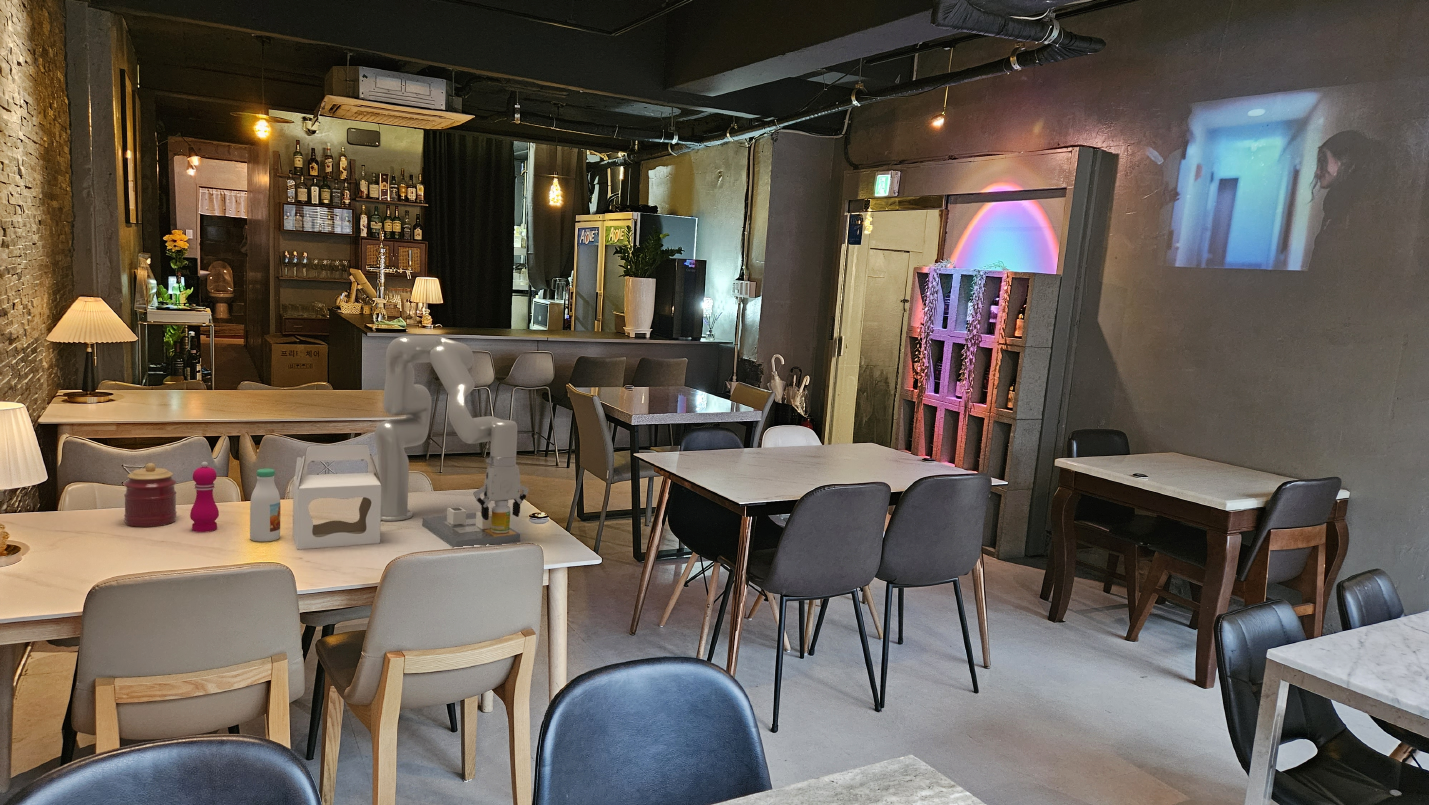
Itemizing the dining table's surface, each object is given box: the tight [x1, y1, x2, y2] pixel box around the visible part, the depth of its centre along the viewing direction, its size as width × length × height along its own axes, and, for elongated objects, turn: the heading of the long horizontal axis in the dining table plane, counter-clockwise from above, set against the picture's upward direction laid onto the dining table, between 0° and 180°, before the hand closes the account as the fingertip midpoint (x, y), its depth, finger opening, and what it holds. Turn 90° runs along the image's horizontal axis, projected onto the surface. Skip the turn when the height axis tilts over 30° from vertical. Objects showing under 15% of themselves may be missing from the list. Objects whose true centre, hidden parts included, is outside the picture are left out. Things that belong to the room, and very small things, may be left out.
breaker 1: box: [446, 506, 467, 525], centre depth 271 cm, size 4×5×4 cm
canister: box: [123, 462, 177, 528], centre depth 259 cm, size 13×13×18 cm
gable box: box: [292, 443, 382, 550], centre depth 253 cm, size 22×13×28 cm, turn 120°
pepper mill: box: [189, 461, 220, 533], centre depth 255 cm, size 7×7×20 cm
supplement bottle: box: [491, 500, 511, 533], centre depth 265 cm, size 5×5×10 cm
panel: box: [421, 512, 521, 548], centre depth 271 cm, size 20×28×3 cm
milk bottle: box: [249, 468, 281, 543], centre depth 250 cm, size 8×8×20 cm
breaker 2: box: [475, 511, 492, 529], centre depth 269 cm, size 4×5×4 cm
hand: (500, 517), depth 265 cm, fingers open, 9 cm apart
